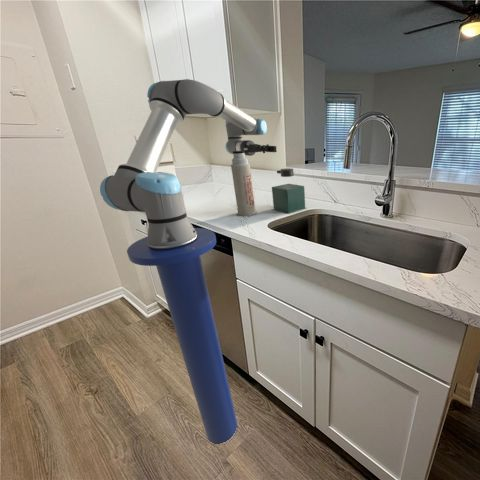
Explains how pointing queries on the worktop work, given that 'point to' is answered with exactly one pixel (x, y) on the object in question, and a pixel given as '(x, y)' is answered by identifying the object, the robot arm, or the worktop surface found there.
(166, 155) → the display case
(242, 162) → the thermos bottle
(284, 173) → the nozzle
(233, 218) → the worktop surface
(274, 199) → the dark teal foam cube
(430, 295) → the worktop surface
